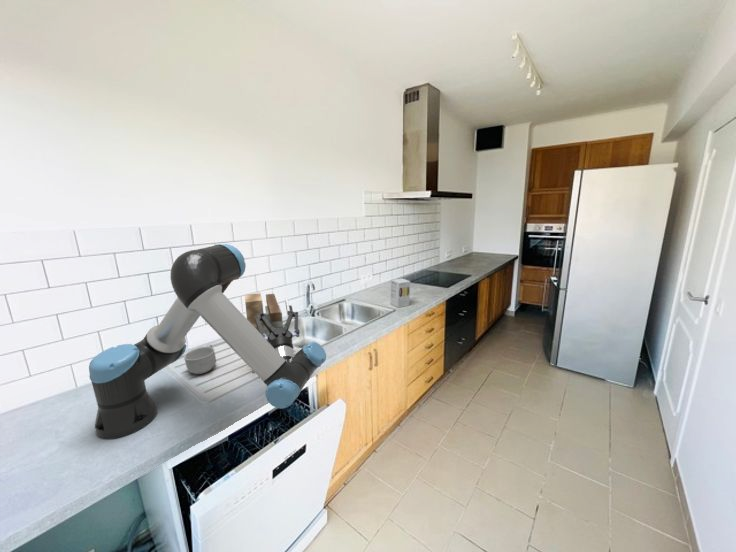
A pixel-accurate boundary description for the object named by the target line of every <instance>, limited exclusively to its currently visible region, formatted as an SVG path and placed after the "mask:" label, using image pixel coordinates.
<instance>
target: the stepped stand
mask: <svg viewBox="0 0 736 552" xmlns="http://www.w3.org/2000/svg"><path fill="white" fill-rule="evenodd" d="M244 300H245V302H244V303H245V305H244V306H245V312H246V319H247V320H248V321H249V322H250V323H251V324H252V325H253V326H254V327H255V328H256V329H257V330H258V328H257V325H256V321H255V317H256V316H260V309H261V308H263V306H262V300H263V298H262V295H261V293H260V292H259V293H248V294H247V293H246V294H244ZM278 306H279V309H280V312H281V321H278V322H271V319H270V315H269V311H268V307H267V305H265V311H266V318H267V320H268V321H269V323H270V324H271V325H272V326H273V327H274V328H281V327H284V322H283V313H282V309H281V306H280V305H279V304H278ZM260 322H261V325H262V328H263V332H264V334H265V335H266V336H267V337H268V336H269V334H270V333H269V331H268V329H267V328H266V327H265V325H264V324H263V323H262V321H260ZM251 372H252V374H256V373H255V372H254V371H253V370H252V369H251Z"/></svg>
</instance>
